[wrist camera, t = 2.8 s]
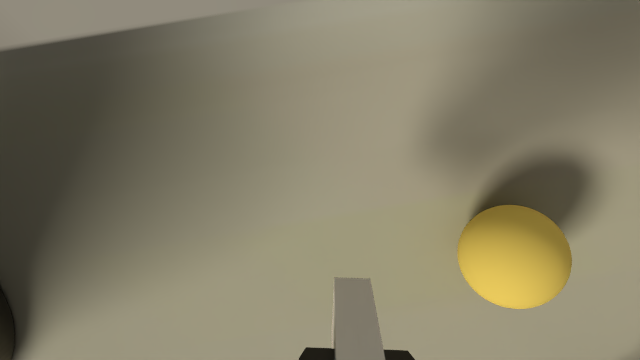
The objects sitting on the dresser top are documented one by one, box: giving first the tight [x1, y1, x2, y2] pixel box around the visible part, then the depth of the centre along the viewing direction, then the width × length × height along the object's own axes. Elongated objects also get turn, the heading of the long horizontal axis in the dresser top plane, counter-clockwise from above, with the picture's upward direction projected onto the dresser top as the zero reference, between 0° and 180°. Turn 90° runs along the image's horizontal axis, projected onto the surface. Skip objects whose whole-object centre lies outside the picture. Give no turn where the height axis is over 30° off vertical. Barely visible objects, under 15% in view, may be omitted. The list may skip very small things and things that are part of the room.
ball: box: [458, 205, 572, 309], centre depth 21 cm, size 6×6×6 cm
